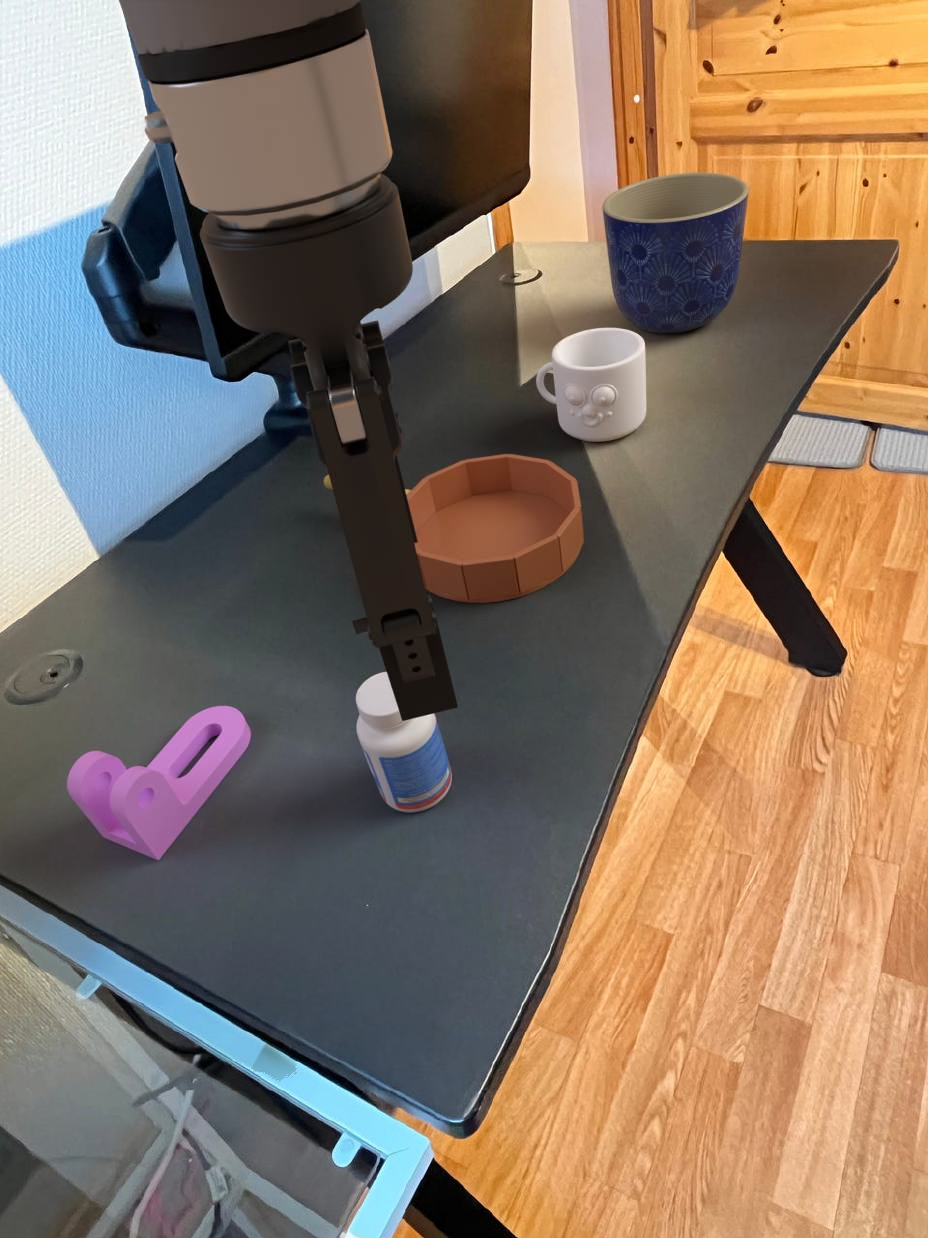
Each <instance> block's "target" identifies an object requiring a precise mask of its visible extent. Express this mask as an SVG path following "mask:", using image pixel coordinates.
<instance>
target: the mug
mask: <svg viewBox="0 0 928 1238" xmlns="http://www.w3.org/2000/svg"><path fill="white" fill-rule="evenodd" d="M646 363H647V362H646V343H645V340H644V338H643V337H642V336H641V335H639V333H636V332H635V331H633V330H629V329H625V328H621V327H598V328H597V327H596V328H591V329H585V330H582V331H579V332H576V333H573V334H571V335H568V336H566V337H563V339H561V340H560V341H558V342H557V343H556V344H555V345H554V346H553V349H552V350H551V361H548V362H547V363H545V364H543V365H542V366H541V367H540V368H539V370H538V371H537V374H536V378H535V379H536V380H535V383H536V388H537V390H538V392H539V394H540V396H542V398H543V399H544V400H545V401H547V402H548V403H550V404H554V405H556V410H557V411H556V412H557V420H558V424H559V426H560V428H561V429H562V430H563V432H564V433H566V434H567V435H569V437H572V438H575V439H576V440H580V441H585V442H595V443H596V442H600V443H601V442H608V441H614V440H617V439H621V438H624V437H626V436H628V435H629V434H631V433H633V432H635V431H636V430H637V429H638V428H640V426H641V425H642V424H643V423H644V420H645V418H646V415H647V367H646V366H647V364H646ZM551 370H552V374H553V384H554V394H551V392H549V391H548V390H547V388H546V386H545V381H544V380H545V376H546V375H547V373H549V371H551Z"/></svg>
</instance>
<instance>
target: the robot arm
mask: <svg viewBox="0 0 928 1238" xmlns="http://www.w3.org/2000/svg"><path fill="white" fill-rule="evenodd" d="M118 3H119V6H120V8H121V10H122V13H123V16H124V19H125V22H126V25H127V27H128V30H129V32H130V35H131V38H132V41H133V44H134V47H135V52H136V53H137V54H138V56H137V59H138V61H139V64H140V67H141V70H142V73H143V75H144V78H145V79H146V80H147V82H148V85H149V88H150V92H151V97H152V99H153V101H154V103H155V105H156V106H157V108H158V109H159V110H157V111H154V112H150V113H149V114H146V115H145V116H144V133H145V135H146V137H147V139H148V140H149V141H150V142H151V143H152V144H154V145H159V146H164V145H167V144H170V143H173V145H174V147H175V151H176V154H175V157H174V161H175V164H176V167H177V169H178V172H179V175H180V177H181V180H182V183H183V186H184V189H185V192H186V195H187V197H188V200H189V204H190V205H192V206H193V207H195V208H197V209H199V210H201V211H202V212H204V213H206V216H205V217H204V219H203V222H202V226H201V228H200V231H199V237H200V240H201V243H202V246H203V249H204V251H205V253H206V257H207V259H208V262H209V266H210V268H211V271H212V274H213V277H214V280H215V282H216V285H217V288H218V291H219V293H220V296H221V299H222V302H223V305H224V308H225V310H226V312H227V315H229V317H230V318H231V320H233V322H235V323H236V324H237V325H238V326H240V327H242V328H244V329H246V330H249V331H252V332H256V333H259V334H266V335H273V334H275V333H278V334H284V335H289V336H292V337H295V339H292V340H288V348H289V353H290V356H291V359H292V363H293V364H291V365H290V366H289V369H290V374H291V378H292V382H293V386H294V390H295V394H296V397H297V398H298V400H299V402H300V403H301V405H302V407H303V408H304V409H306V412H307V417H308V421H309V425H310V428H311V429H310V430H311V433H312V438H313V441H314V445H315V450H316V454H317V458H318V459H319V461H320V462H321V463H322V465H323V466H324V467H325V468H326V469H327V470H326V471H327V473H328V475H329V477H330V481H331V485H332V488H333V490H332V492H333V496H334V499H335V503H336V507H337V511H338V514H339V518H340V521H341V522H340V523H341V526H342V529H343V533H344V537H345V540H346V544H347V548H348V551H349V556H350V560H351V563H352V566H353V570H354V574H355V575H354V576H355V578H356V583H357V585H358V589H359V593H360V597H361V599H362V604H363V608H364V612H365V615H366V616H365V617H362V618H358V619H353V620H351V621H352V625H353V629H354V632H355V634H356V635H361V634H362V635H363V634H367V635H368V639H369V641H371V643H372V646H373V647H374V648H375V649H379V652H380V656H381V659H382V661H383V665H384V668H385V672H387V675H388V678H389V681H390V684H391V687H392V690H393V694H394V697H395V700H396V703H397V706H398V709H399V713H400V716H401V719H402V721H406V720H410V719H414V718H418V717H422V716H426V715H430V714H438V713H441V712H446V711H449V710H454V709H458V708H459V706H458V701H457V697H456V693H455V689H454V685H453V680H452V677H451V673H450V668H449V665H448V659H447V657H446V653H445V652H446V651H445V648H444V644H443V641H442V636H441V631H440V628H439V622H438V617H437V614H436V611H435V607H434V603H433V599H432V595H431V593H429V594H428V593H427V589H425V585H424V580H423V576H422V572H421V568H420V564H419V560H418V556H417V552H416V548H415V544H414V543H417V542H418V540H417V536H416V532H415V528H414V524H413V520H412V516H411V512H410V508H409V504H408V499H407V495H406V491H405V489H406V488H405V483H404V480H403V475H402V470H401V466H400V463H399V459H398V454H399V453H400V452H401V451H402V447H403V440H402V435H401V434H403V430H402V426H401V421H400V417H399V414H398V412H397V411H396V410H395V406H394V402H393V397H392V394H391V393H392V390H393V388H394V377H393V371H392V368H391V363H390V360H389V359H390V358H389V355H388V353H387V347H386V344H385V343H384V339H383V334H382V330H381V326H380V322H379V320H373V321H369V322H365V323H362V322H361V321H362V320H363V319H364V318H365V317H367V316H368V315H369V314H371V313H372V312H373V311H375V310H377V309H380V310H382V309H383V308H385V307H387V306H388V305H390V304H391V303H392V302H393V301H395V300H396V299H397V298H398V297H400V296H401V294H402V293H403V292H405V290H407V289H406V288H408V286H409V284H410V282H411V279H412V277H413V271H414V267H413V265H414V264H413V260H412V253H411V248H410V244H409V243H410V242H409V238H408V234H407V228H406V223H405V218H404V213H403V208H402V203H401V199H400V193H399V189H398V186H397V185H396V184H395V183H394V182H392V181H391V179H390V178H389V177H388V176H386V175H385V174H383V173H382V172H383V171H385V170H386V169H387V168H388V166H389V164H390V163H391V160H392V156H393V148H392V143H391V138H390V133H389V127H388V123H387V118H386V117H387V116H386V112H385V108H384V102H383V97H382V92H381V87H380V81H379V77H378V72H377V67H376V61H375V56H374V53H373V52H374V51H373V46H372V42H371V35H370V32H369V30H368V28H367V26H366V21H365V16H364V11H363V7H362V1H361V0H118Z"/></svg>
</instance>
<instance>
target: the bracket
mask: <svg viewBox="0 0 928 1238" xmlns="http://www.w3.org/2000/svg"><path fill="white" fill-rule="evenodd" d="M215 736H217V738H216V739H215V740H214V741H213V742H212V744H211V745H210V746H209V747H208V748H207V750H206V751H205V752H204V754H202V756H201V757H200V758H199V760H197V762H196V763H195V764H194V765H193V767H192V768H191V769H190V770H189V771H188V773H187V774H185V775H183V776H180V775H181V774H182V773H183V772H184V770H185V769H186V768H187V767H188V766H189V765H190V763H191V762H192V761H193V760H194V758H195V757H196V756H197V755H198V754H199V752H200V751H201V750H202V749H203V747H204V746H205V745H206V744H207V743H208V741H210V740H211V739H212V738H214V737H215ZM251 737H252V733H251V728H250V726H249V724H248V722H247V721H246V719H245V716H244V715H243V713H242V712H241V711H240V710H238V709H237V708H235V707H233V706H230V705H216V706H211V707H209V708H205V709H203V710H201V711H198V712H197V713H196V714H194V715H193V716H191V717H190V718H188V720H186V722H185V723H184V724H182V726H181V727H180V728H179V730H178V731H177V732H176V733H175V734H174V735H173V736H172V738H171V739H170V740H169V741H168V742H167V743H166V744H165V746H163V748H162V749H161V750H160V751H159V753H157V755H156V756H155V757H154V758H153V760H152V761H151V762H150V763H149V764H148V765H147V766H146V767H145V766H142V765H134V766H131V767H129V768H128V769H127V767H126V766H125V764H124V763H123V762H122V760H121V759H120V758H119V757H117V756H115V755H112V754H109V753H107V752H103V751H101V750H92V751H88V752H86V753H85V754H82V755H81V756H80V757H79V758H78V759H77V760H76V761H75V762H74V763H73V765H72V767H71V768H70V770H69V773H68V776H67V780H66V789H67V792H68V794H69V796H70V798H71V799H72V800H73V801H74V803H75V804H76V805H77V806H78V808H79V809H80V810H81V811H82V813H83V814H84V815H85V817H87V819H88V820H89V821H90V822H91V824H92V825H93V827H95V829H96V830H97V831H98V832H99V834H100V835H101V836H102V837H103V838H104V839H106V840H109V841H111V842H113V843H116V844H118V845H120V846H123V847H125V848H127V849H129V850H132V851H134V852H137V853H140V854H142V855H145V856H147V857H149V858H151V859H154V860H155V861H160V860H161V859H162V857H163V856H164V854H165V853H166V852H167V850H168V849H169V848H170V847H171V846H172V844H173V843H174V842H175V841H176V839H177V838H178V837H179V835H180V834H181V833H182V832H183V830H184V829H185V828H186V827H187V825H188V824H189V823H190V821H192V819H193V817H194V816H195V815H196V814H197V813H198V811H199V810H200V809H201V808H202V806H203V805H204V804H205V803H206V801H207V800H208V798H210V796H211V795H212V793H214V791H215V789H217V787H218V786H219V784H221V782H222V781H223V780H224V778H225V777H226V776H227V774H228V773H229V772H230V771H231V770H232V768H233V767H234V766H235V764H236V763H237V762H238V760H239V759H240V758H241V757H242V755H244V753H245V752H246V750H247V748H248V747H249V744H250V742H251ZM179 776H180V777H179Z"/></svg>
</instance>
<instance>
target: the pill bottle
mask: <svg viewBox="0 0 928 1238" xmlns="http://www.w3.org/2000/svg"><path fill="white" fill-rule="evenodd" d="M355 704H356V707H357V711H358V714H359V715H358V717H357V721H356V735H357V738H358V741H359V743H360V746H361V749H362V752H363V754H364V756H365V759H366V761H367V764H368V766H369V769H370V772H371V775H372V777H373V779H374V781H375V784H376V787H377V789H378V791H379V794H380V795H381V797H382V799H383V801H384V802H385V803H386V804H387V805H388V806H389V807H391V808H392V809H394V810H396V811H399V812H402V813H418V812H422V811H426V810H428V809H430V808H432V807H435V806H436V805H437V804H438V803H439V802H441V801H442V800H443V799H444V798H445V797H446V795H447V793H448V792H449V791H450V788H451V785H452V779H453V775H452V768H451V765H450V761H449V758H448V754H447V751H446V747H445V744H444V741H443V737H442V733H441V730H440V726H439V724H438V720H437V717H436V713H434V714H430V715H426V716H422V717H418V718H414V719H410V720H406V721H402V719H401V716H400V713H399V709H398V706H397V703H396V700H395V697H394V694H393V690H392V687H391V684H390V681H389V678H388V675H387V672H386V671H383V672H379V673H377V674H374V675H372V676H370V677H369V678H368V679H366V680H364V681H363V682H362V683H361V685H360V686H359V687H358V689H357V692H356V694H355Z"/></svg>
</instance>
